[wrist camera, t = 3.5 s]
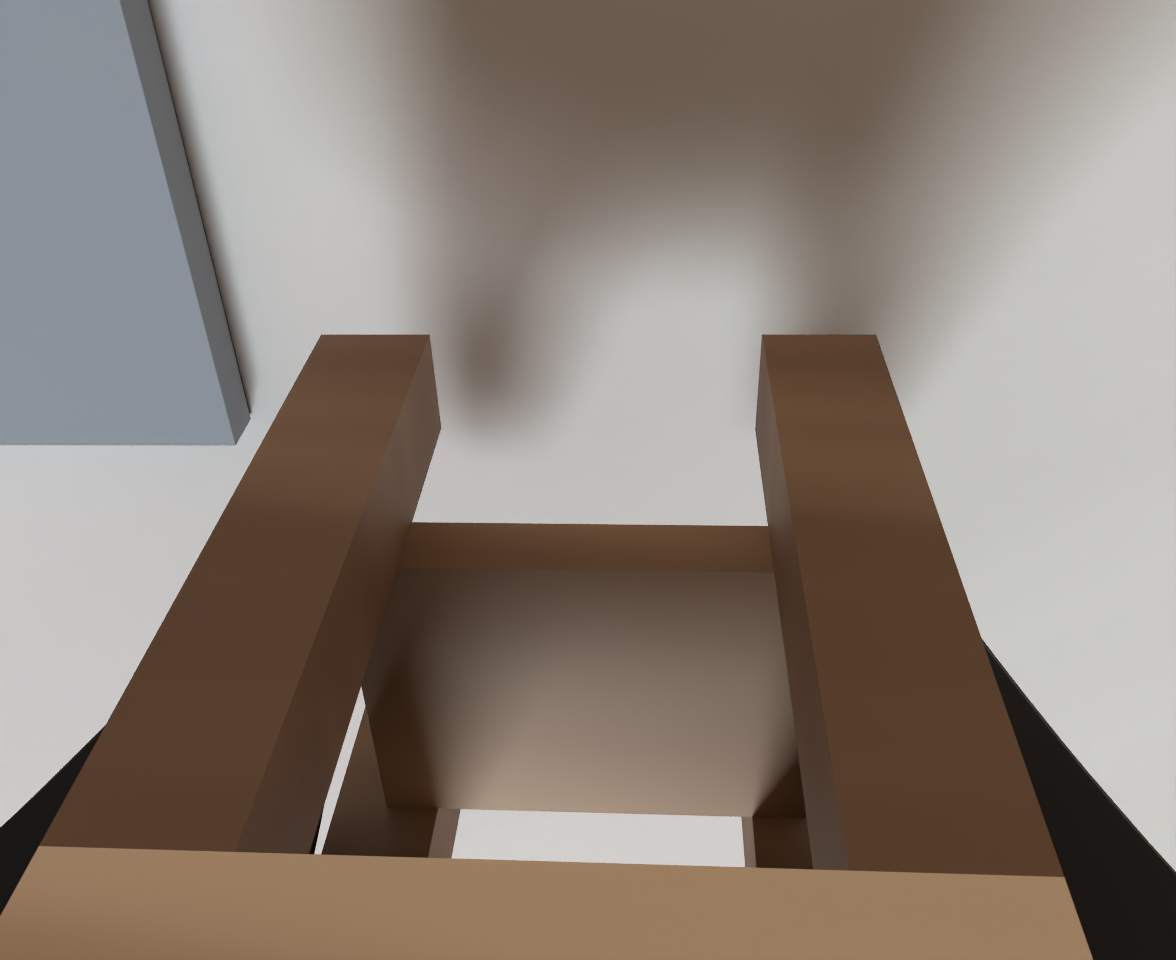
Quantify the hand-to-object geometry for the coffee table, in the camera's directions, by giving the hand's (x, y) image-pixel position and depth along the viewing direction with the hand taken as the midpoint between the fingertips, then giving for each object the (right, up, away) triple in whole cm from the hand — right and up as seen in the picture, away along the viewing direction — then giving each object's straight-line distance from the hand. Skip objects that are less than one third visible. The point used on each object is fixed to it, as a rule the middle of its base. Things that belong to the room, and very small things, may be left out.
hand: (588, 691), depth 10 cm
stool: (0, +1, +2) cm, 2 cm away
